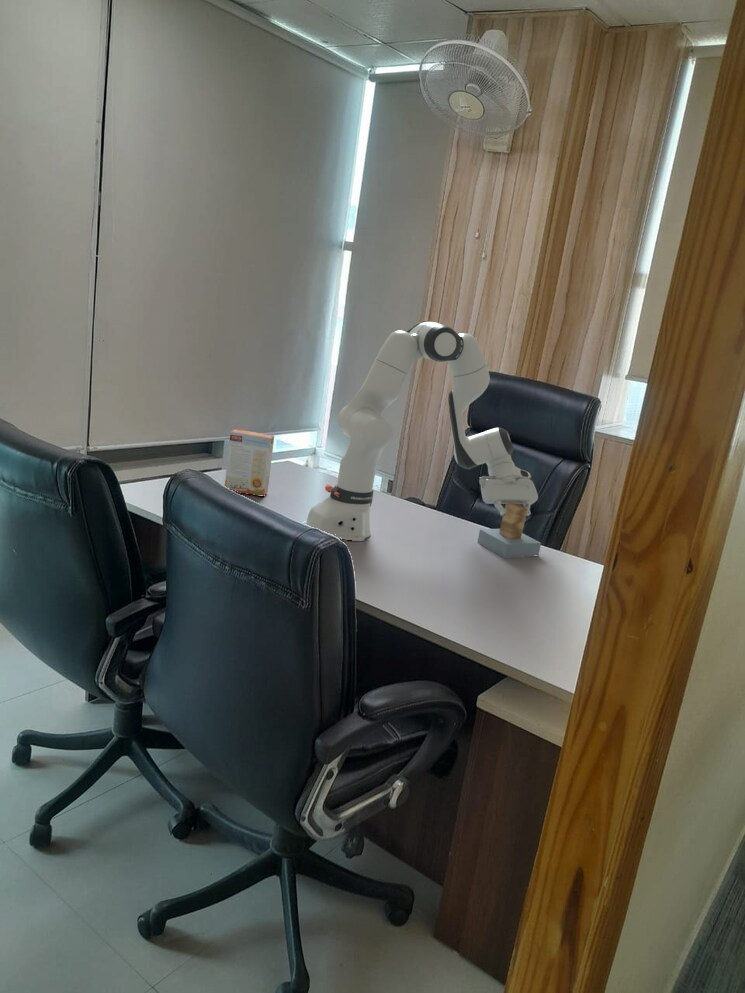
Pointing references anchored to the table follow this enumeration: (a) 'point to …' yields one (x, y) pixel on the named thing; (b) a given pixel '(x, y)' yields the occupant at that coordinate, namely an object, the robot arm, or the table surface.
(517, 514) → the oak block
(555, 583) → the table surface
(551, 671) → the table surface
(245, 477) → the cracker box
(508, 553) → the grey base block
